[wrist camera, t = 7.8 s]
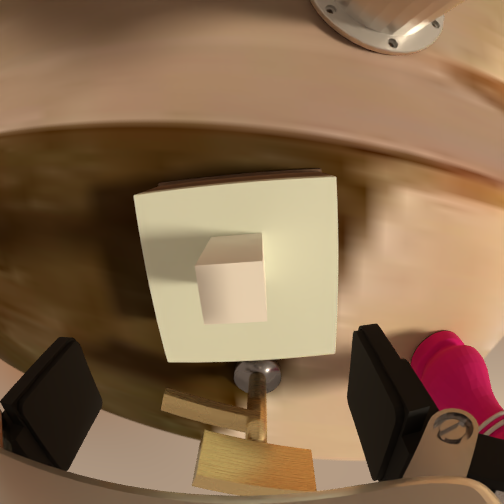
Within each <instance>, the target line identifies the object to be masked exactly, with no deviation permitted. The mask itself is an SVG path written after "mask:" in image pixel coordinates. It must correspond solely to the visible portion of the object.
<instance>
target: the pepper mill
mask: <svg viewBox="0 0 504 504" xmlns="http://www.w3.org/2000/svg"><path fill="white" fill-rule="evenodd" d="M411 367H412V368H413V370H414V371H415V373H416V374H417V376H418V378H419V379H420V381H421V382H422V384H423V385H424V387H425V388H426V390H427V392H428V393H429V395H430V396H431V398H432V399H433V401H434V403H435V404H436V406H437V407H438V409H439V411H441V410H443V409H449V408H455V409H461V410H464V411H467V412H468V413H470V414H471V415H472V416H473V417H474V418H475V419H476V420H477V423H478V426H479V433H480V434H484V435H488V436H491V437H495V438H499V439H503V440H504V410H503V409H502V407H501V406H500V405H499V403H498V402H497V400H496V398H495V397H494V394H493V392H492V389H491V384H490V380H489V375H488V370H487V367H486V364H485V362H484V360H483V358H482V356H481V355H480V354H479V352H478V351H477V350H476V349H475V348H473V347H471V346H467V345H464V343H463V342H462V341H461V340H460V338H459V337H458V336H457V335H456V334H455V333H453V332H451V331H440V332H437V333H434V334H432V335H431V336H429V337H428V338H426V339H425V340H424V341H423V342H422V343H421V344H420V345H419V346H418V348H417V349H416V351H415V352H414V355H413V357H412V361H411Z"/></svg>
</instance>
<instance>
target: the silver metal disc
mask: <svg viewBox="0 0 504 504" xmlns="http://www.w3.org/2000/svg"><path fill="white" fill-rule="evenodd" d="M253 373H261V374H263V375H264V376H265V377H266V393H268V392H271V391H272V390H274V389H275V388H276V387H277V386H278V385H279V383H280V381H281V370H280V365H279V363H278V362H277V361H276V360H275V359H271V360H254V361H238V362H237V364H236V366H235V371H234V381H235V383H236V385H237V386H238V387H239V388H240V389H241V390H243V391H245V392H247V393H248V384H249V377H250V375H251V374H253Z"/></svg>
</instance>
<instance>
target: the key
mask: <svg viewBox="0 0 504 504" xmlns="http://www.w3.org/2000/svg"><path fill="white" fill-rule="evenodd" d="M161 410H162V411H165V412H169V413H172V414H175V415H178V416H182V417H185V418H189V419H192V420H196V421H199V422H203V423H207V424H211V425H215V426H219V427H223V428H227V429H232V430H236V431H241V432H245V433H246V438H245V439H242V438H237V437H232V436H228V435H224V434H219V433H215V432H211V431H207V430H205V431H204V433H203V436H202V439H201V442H200V445H199V451H198V456H197V461H196V466H195V471H194V477H193V482H192V486H195V487H199V488H203V489H208V490H213V491H218V492H223V493H228V494H234V495H240V496H257V495H279V494H292V493H305V492H314V491H317V490H316V484H315V475H314V467H313V460H312V453H311V450H309V449H301V448H294V447H287V446H280V445H274V444H268V443H267V410H266V377H265V376H264V375H263V374H261V373H253V374H251V375H250V377H249V384H248V402H247V409H244V408H240V407H236V406H232V405H227V404H223V403H220V402H216V401H212V400H208V399H205V398H201V397H197V396H194V395H191V394H187V393H184V392H181V391H177V390H174V389H171V388H168V387H166V390H165V393H164V397H163V402H162V407H161Z"/></svg>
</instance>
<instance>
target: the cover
mask: <svg viewBox="0 0 504 504" xmlns="http://www.w3.org/2000/svg"><path fill="white" fill-rule="evenodd" d="M134 202H135V209H136V216H137V222H138V228H139V234H140V240H141V246H142V251H143V257H144V262H145V267H146V272H147V277H148V282H149V287H150V291H151V296H152V301H153V305H154V309H155V314H156V318H157V322H158V326H159V330H160V334H161V338H162V342H163V346H164V350H165V353H166V357H167V361H168V362H231V361H254V360H271V359H285V358H297V357H308V356H318V355H327V354H335V350H336V330H337V304H338V211H337V184H336V177H335V176H332V175H331V176H310V177H292V178H277V179H263V180H251V181H239V182H228V183H218V184H208V185H199V186H190V187H181V188H173V189H165V190H158V191H150V192H143V193H139V194H136V195H134Z"/></svg>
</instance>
